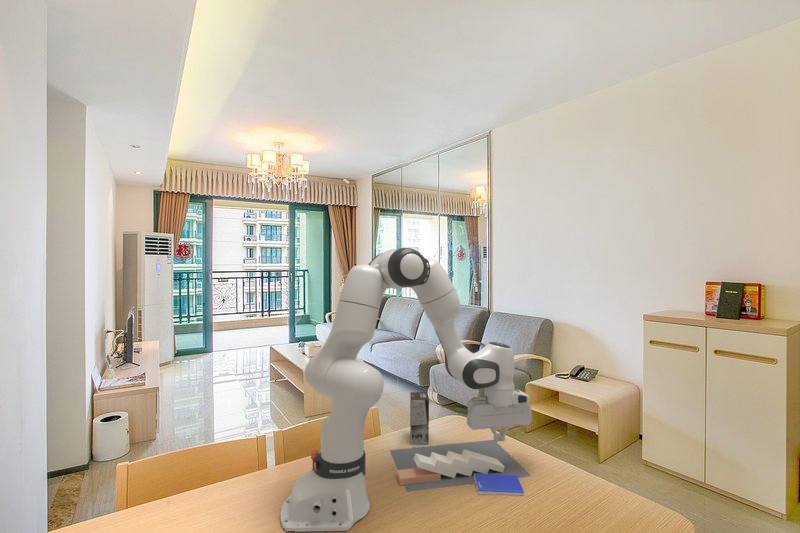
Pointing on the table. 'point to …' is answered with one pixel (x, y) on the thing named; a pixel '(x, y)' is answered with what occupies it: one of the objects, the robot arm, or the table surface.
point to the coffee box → (419, 418)
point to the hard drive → (498, 484)
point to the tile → (416, 476)
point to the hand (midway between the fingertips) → (499, 440)
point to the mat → (487, 448)
